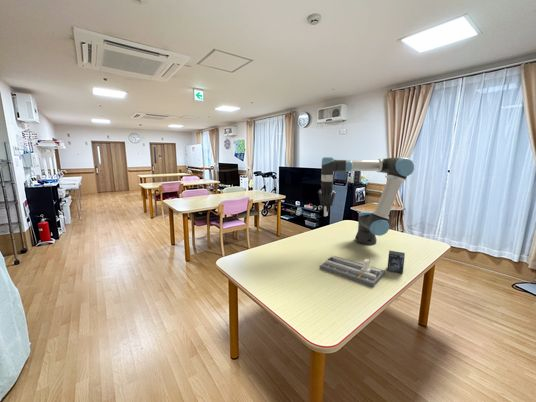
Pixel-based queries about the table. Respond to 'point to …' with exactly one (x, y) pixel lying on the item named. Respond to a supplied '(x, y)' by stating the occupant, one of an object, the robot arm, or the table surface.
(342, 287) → the table surface
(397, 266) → the box
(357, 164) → the robot arm
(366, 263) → the fader tab
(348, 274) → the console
